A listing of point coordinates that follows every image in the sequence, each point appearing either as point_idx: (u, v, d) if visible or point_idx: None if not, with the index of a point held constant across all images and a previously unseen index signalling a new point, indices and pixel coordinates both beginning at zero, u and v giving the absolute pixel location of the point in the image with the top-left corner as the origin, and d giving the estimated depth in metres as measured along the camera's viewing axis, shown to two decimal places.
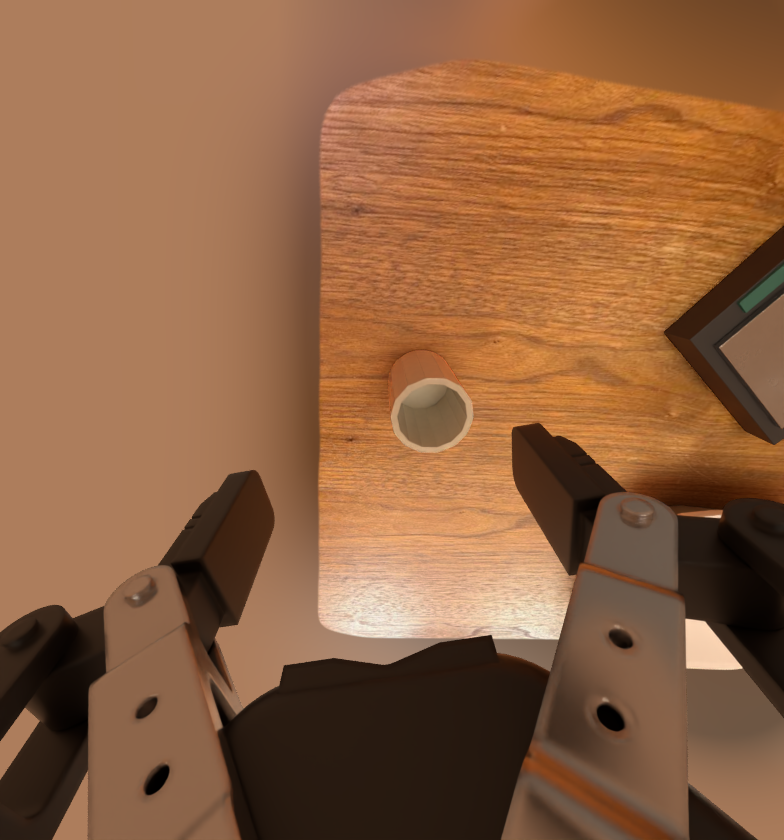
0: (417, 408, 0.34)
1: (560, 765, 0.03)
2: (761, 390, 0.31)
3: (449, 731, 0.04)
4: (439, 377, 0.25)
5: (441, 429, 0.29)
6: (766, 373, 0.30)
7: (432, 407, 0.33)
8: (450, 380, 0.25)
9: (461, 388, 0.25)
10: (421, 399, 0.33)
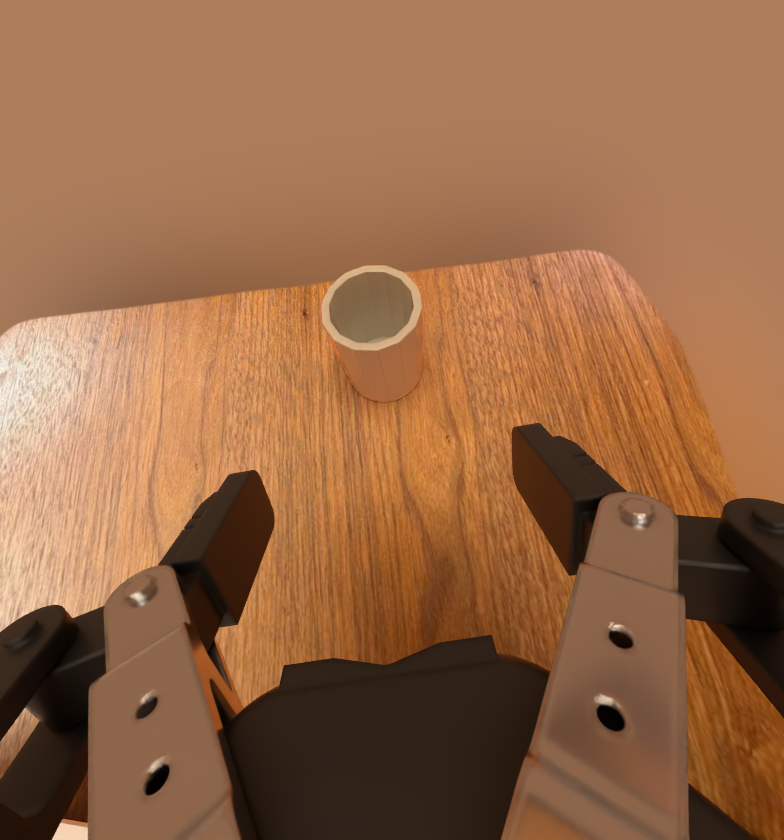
0: None
1: (559, 765, 0.03)
2: None
3: (449, 731, 0.04)
4: None
5: None
6: None
7: None
8: (420, 315, 0.21)
9: (413, 326, 0.20)
10: None
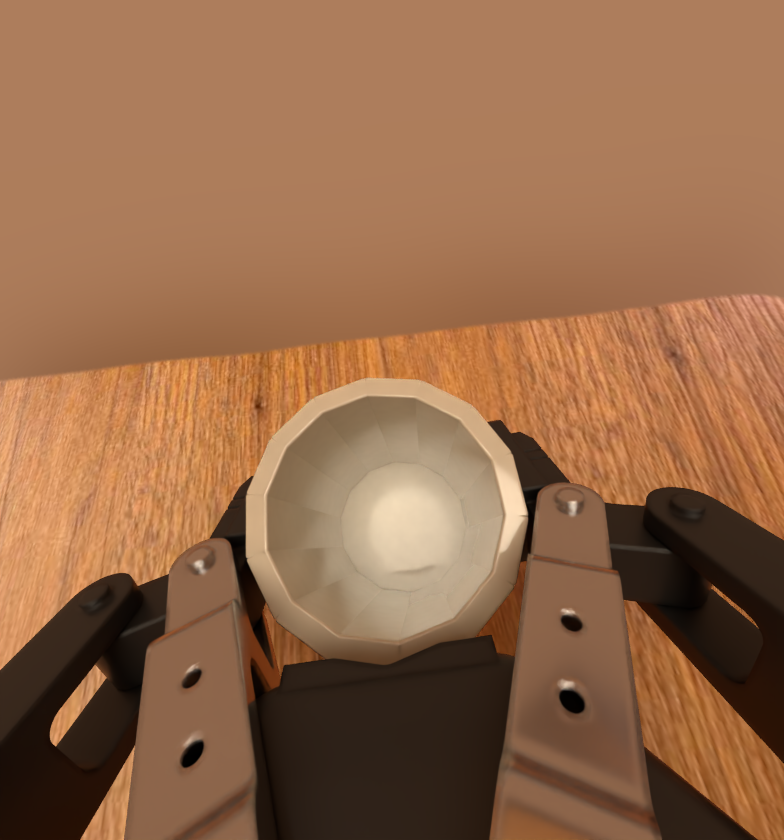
0: (342, 527, 0.15)
1: (560, 765, 0.03)
2: None
3: (449, 731, 0.04)
4: (522, 499, 0.08)
5: (316, 573, 0.09)
6: None
7: (350, 562, 0.14)
8: None
9: (508, 586, 0.07)
10: (364, 532, 0.15)
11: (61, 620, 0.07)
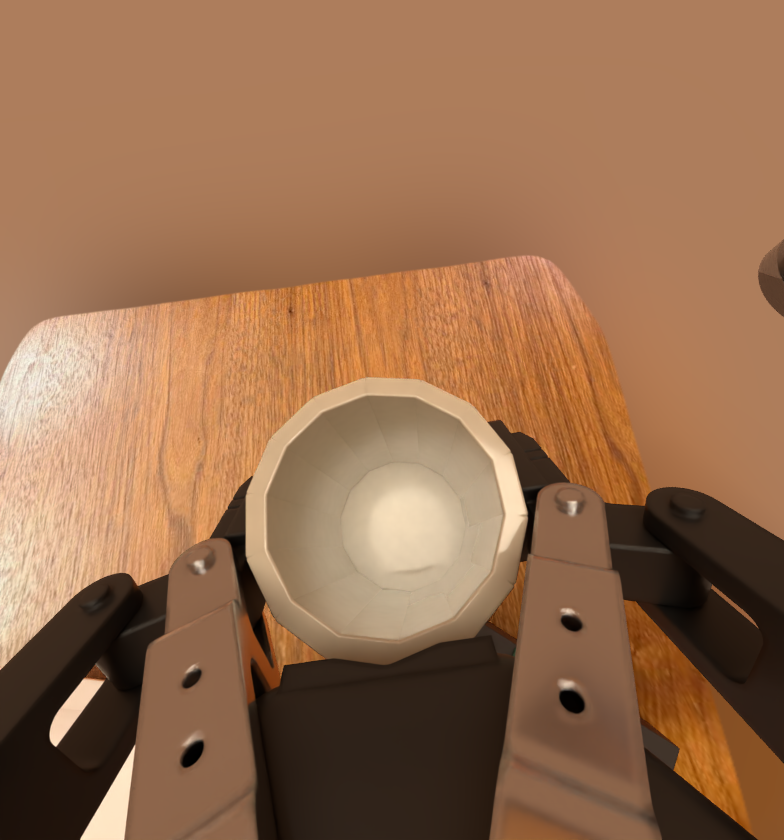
0: (342, 527, 0.15)
1: (560, 765, 0.03)
2: None
3: (449, 731, 0.04)
4: (521, 498, 0.08)
5: (316, 573, 0.09)
6: None
7: (350, 561, 0.14)
8: None
9: (508, 586, 0.07)
10: (364, 532, 0.15)
11: (61, 620, 0.07)
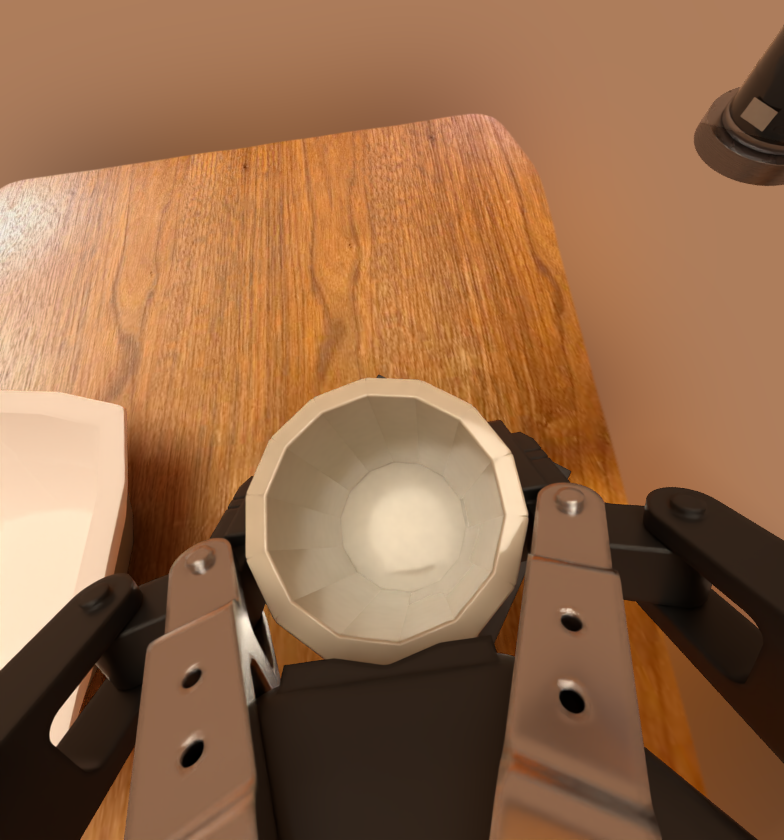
0: (342, 527, 0.15)
1: (560, 765, 0.03)
2: None
3: (449, 731, 0.04)
4: (522, 499, 0.08)
5: (316, 574, 0.09)
6: None
7: (350, 562, 0.14)
8: None
9: (509, 587, 0.07)
10: (364, 533, 0.15)
11: (61, 620, 0.07)
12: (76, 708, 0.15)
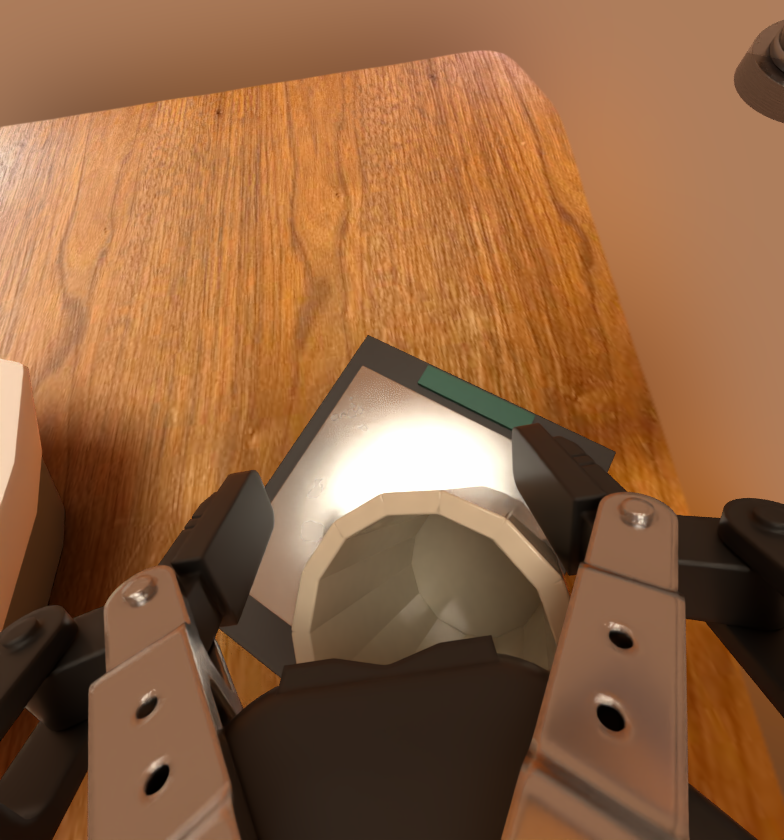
0: (414, 545, 0.15)
1: (560, 765, 0.03)
2: (300, 477, 0.17)
3: (449, 731, 0.04)
4: None
5: (362, 630, 0.10)
6: (330, 465, 0.17)
7: (414, 582, 0.14)
8: None
9: None
10: (434, 558, 0.14)
11: None
12: None
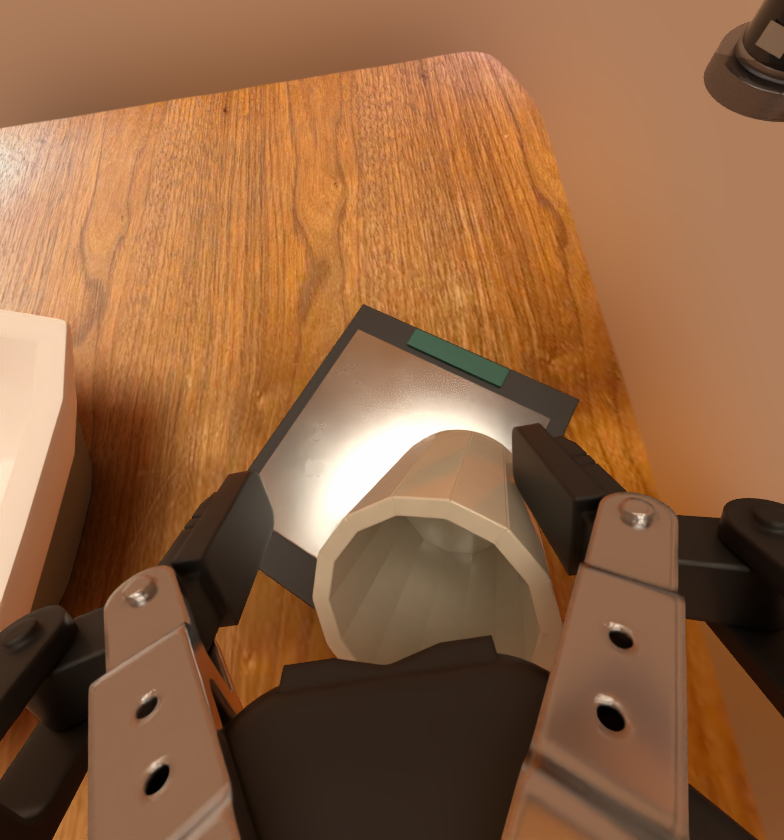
0: None
1: (560, 765, 0.03)
2: (303, 424, 0.20)
3: (449, 731, 0.04)
4: (551, 666, 0.08)
5: (367, 575, 0.12)
6: (330, 413, 0.20)
7: None
8: None
9: None
10: None
11: None
12: None
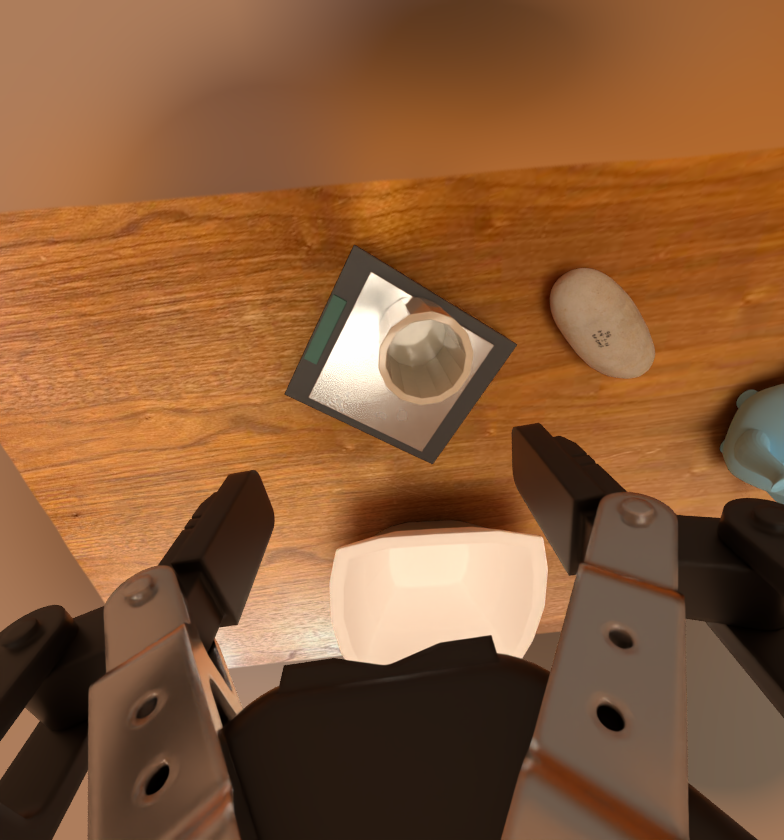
0: (416, 365, 0.30)
1: (560, 765, 0.03)
2: (376, 424, 0.33)
3: (449, 731, 0.04)
4: (425, 311, 0.21)
5: (442, 378, 0.26)
6: (369, 409, 0.33)
7: (432, 360, 0.30)
8: (438, 313, 0.21)
9: (453, 320, 0.22)
10: (418, 354, 0.30)
11: None
12: (485, 530, 0.33)
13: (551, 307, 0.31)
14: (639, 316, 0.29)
